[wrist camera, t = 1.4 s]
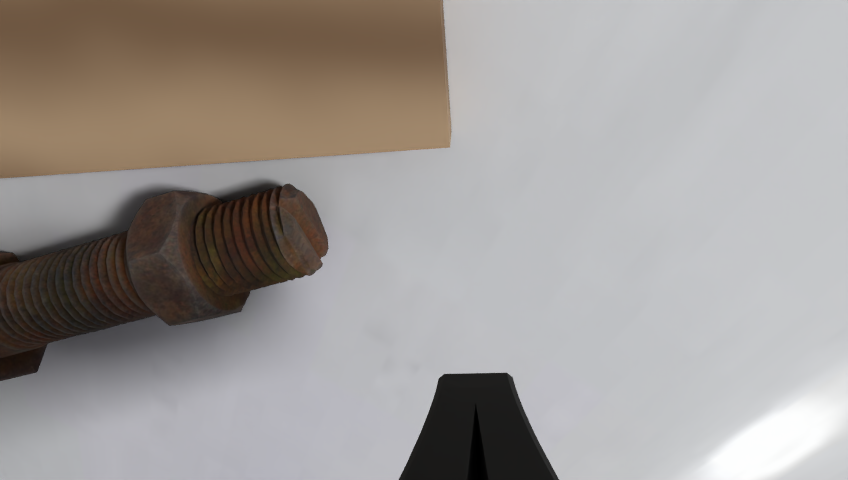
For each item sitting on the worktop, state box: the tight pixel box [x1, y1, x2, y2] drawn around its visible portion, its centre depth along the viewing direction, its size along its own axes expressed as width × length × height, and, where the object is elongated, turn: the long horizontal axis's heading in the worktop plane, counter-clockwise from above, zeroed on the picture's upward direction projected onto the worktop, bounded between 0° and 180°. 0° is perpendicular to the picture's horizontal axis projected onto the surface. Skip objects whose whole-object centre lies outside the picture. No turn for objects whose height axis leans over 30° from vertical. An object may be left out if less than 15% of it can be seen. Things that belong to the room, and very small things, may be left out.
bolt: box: [0, 184, 328, 381], centre depth 18 cm, size 6×5×15 cm
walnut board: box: [0, 0, 451, 178], centre depth 15 cm, size 8×24×2 cm, turn 95°
